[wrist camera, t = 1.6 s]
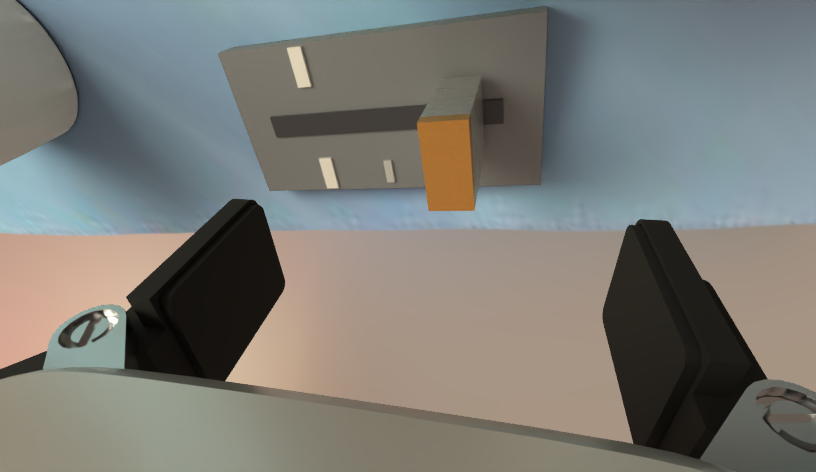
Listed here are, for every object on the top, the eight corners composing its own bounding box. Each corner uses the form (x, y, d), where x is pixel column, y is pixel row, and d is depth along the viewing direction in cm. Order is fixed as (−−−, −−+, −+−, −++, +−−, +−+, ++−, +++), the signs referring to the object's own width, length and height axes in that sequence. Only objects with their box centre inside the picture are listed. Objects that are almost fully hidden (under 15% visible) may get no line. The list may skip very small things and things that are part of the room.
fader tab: (481, 74, 25) (468, 119, 19) (485, 150, 28) (474, 210, 22) (441, 78, 26) (416, 122, 20) (448, 152, 29) (428, 210, 23)
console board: (546, 6, 25) (548, 11, 23) (539, 171, 31) (540, 185, 29) (233, 47, 30) (216, 53, 29) (280, 179, 37) (268, 192, 35)
